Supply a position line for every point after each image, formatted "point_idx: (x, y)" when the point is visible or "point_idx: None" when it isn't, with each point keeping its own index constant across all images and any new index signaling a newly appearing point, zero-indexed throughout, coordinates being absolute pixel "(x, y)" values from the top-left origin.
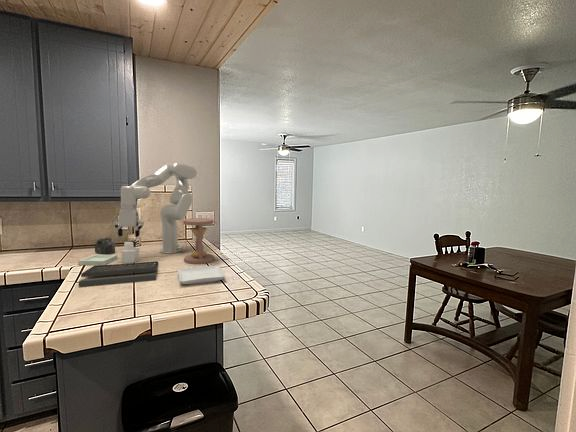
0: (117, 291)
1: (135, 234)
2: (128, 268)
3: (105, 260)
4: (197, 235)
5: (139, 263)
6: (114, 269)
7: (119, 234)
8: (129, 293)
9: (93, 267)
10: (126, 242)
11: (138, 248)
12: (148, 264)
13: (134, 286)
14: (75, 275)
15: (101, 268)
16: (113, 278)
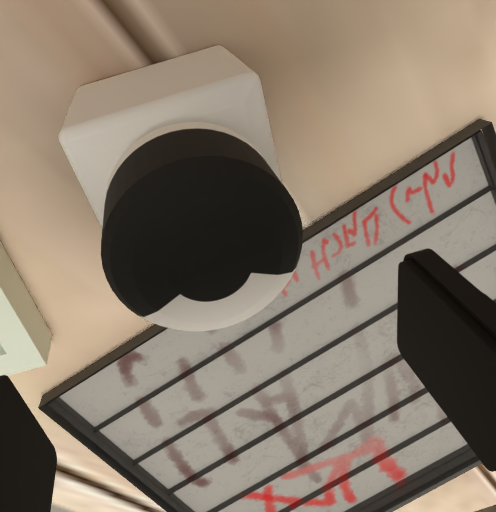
0: (440, 508)
1: (435, 391)
2: (362, 378)
3: (33, 340)
4: None
5: (338, 214)
6: (288, 421)
7: (43, 500)
8: (487, 500)
9: (96, 440)
10: (195, 326)
11: (260, 90)
12: (433, 222)
13: (481, 465)
14: (97, 503)
15: (138, 403)
16: (397, 508)
